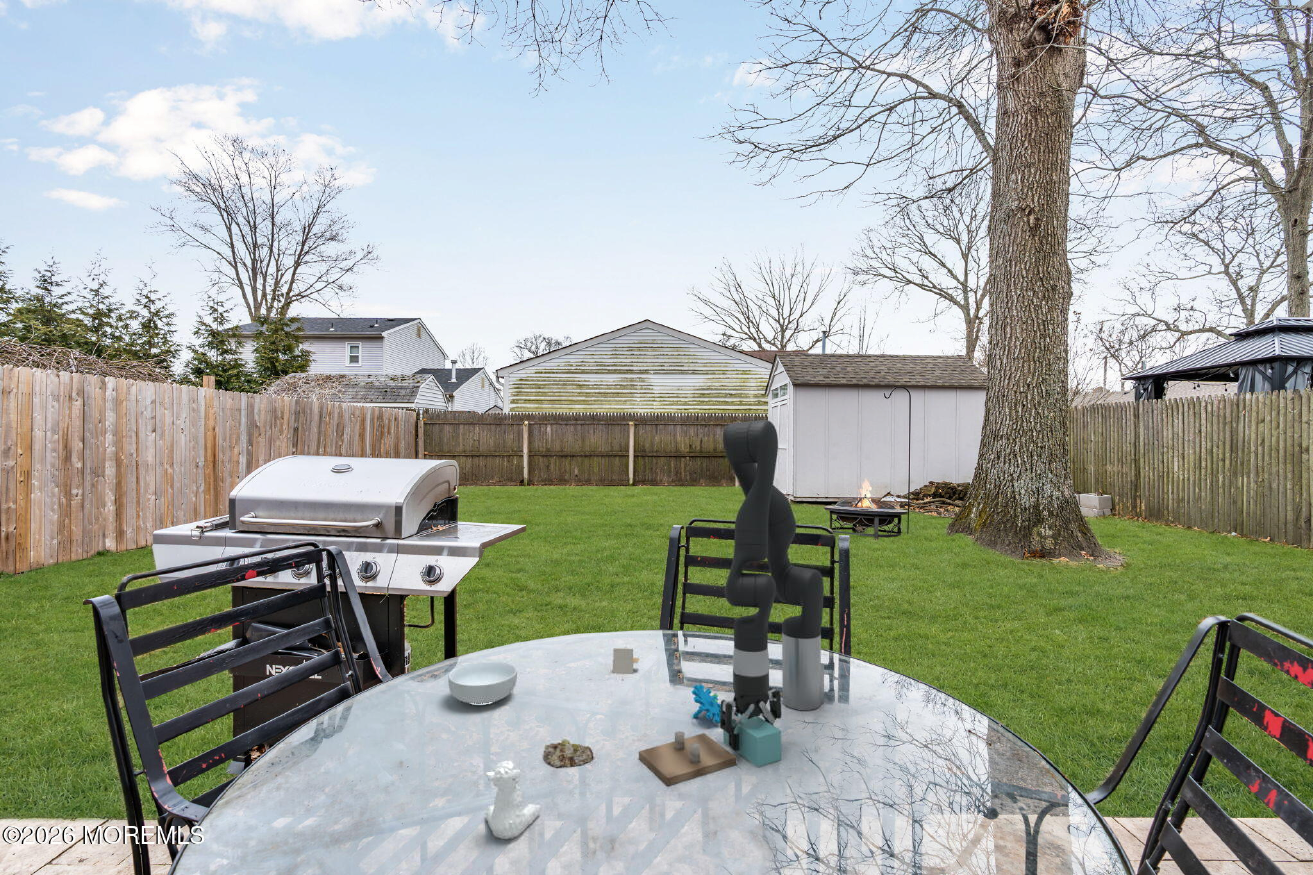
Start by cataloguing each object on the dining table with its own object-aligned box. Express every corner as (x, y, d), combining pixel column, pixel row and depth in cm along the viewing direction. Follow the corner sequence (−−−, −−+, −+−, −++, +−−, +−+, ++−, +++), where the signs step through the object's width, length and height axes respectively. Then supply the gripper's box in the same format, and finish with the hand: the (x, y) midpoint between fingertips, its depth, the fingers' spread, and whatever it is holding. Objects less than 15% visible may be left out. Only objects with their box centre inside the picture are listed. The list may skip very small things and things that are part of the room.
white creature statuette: (541, 813, 119) (540, 746, 119) (534, 843, 111) (533, 771, 110) (487, 814, 119) (486, 747, 119) (476, 845, 110) (475, 773, 110)
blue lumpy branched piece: (718, 725, 149) (690, 687, 153) (700, 741, 150) (672, 703, 154) (734, 712, 159) (707, 677, 163) (716, 727, 160) (690, 692, 164)
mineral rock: (536, 758, 135) (548, 729, 142) (537, 775, 136) (549, 746, 143) (588, 763, 133) (597, 734, 141) (589, 780, 134) (598, 751, 142)
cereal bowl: (508, 714, 159) (507, 685, 159) (439, 714, 160) (438, 685, 160) (524, 686, 176) (523, 659, 176) (461, 686, 177) (460, 659, 177)
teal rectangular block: (745, 735, 147) (745, 708, 147) (781, 759, 137) (781, 730, 137) (723, 742, 145) (723, 714, 144) (757, 767, 134) (757, 737, 134)
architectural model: (614, 670, 188) (614, 644, 188) (639, 671, 187) (639, 644, 187) (612, 675, 185) (612, 648, 184) (637, 675, 184) (637, 648, 184)
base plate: (704, 739, 146) (703, 719, 146) (736, 764, 135) (736, 742, 135) (638, 758, 138) (638, 736, 138) (667, 785, 127) (667, 762, 127)
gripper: (766, 656, 147) (767, 729, 147) (712, 668, 140) (713, 745, 141) (789, 667, 140) (789, 743, 141) (733, 680, 134) (734, 760, 134)
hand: (751, 744), depth 141 cm, fingers open, 8 cm apart
